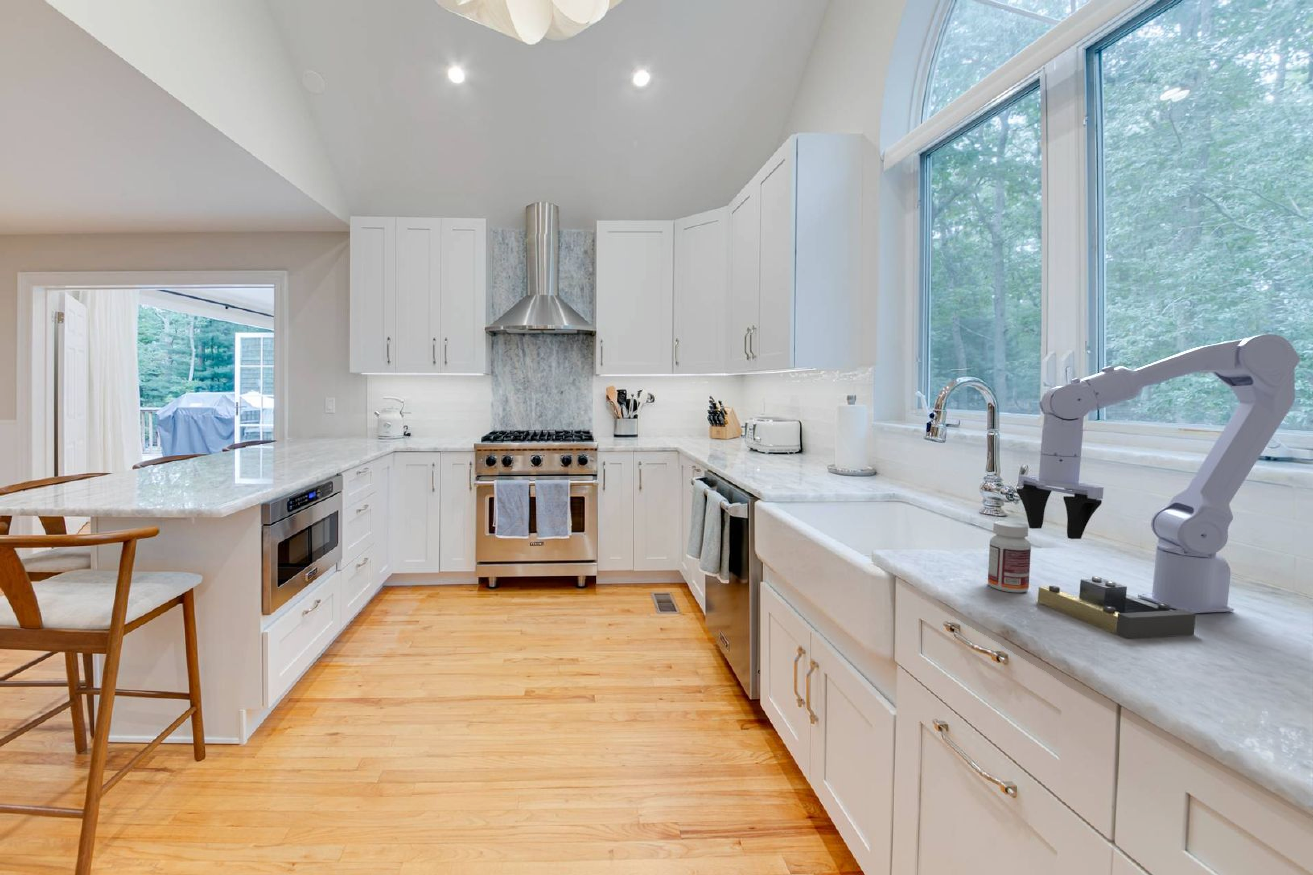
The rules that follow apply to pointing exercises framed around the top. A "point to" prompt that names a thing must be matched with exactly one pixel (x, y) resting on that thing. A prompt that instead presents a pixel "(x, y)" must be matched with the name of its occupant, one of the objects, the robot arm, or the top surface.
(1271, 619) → the top surface
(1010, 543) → the pill bottle
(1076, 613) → the brass end link
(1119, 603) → the grey bolted block
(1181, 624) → the block
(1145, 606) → the steel end link
